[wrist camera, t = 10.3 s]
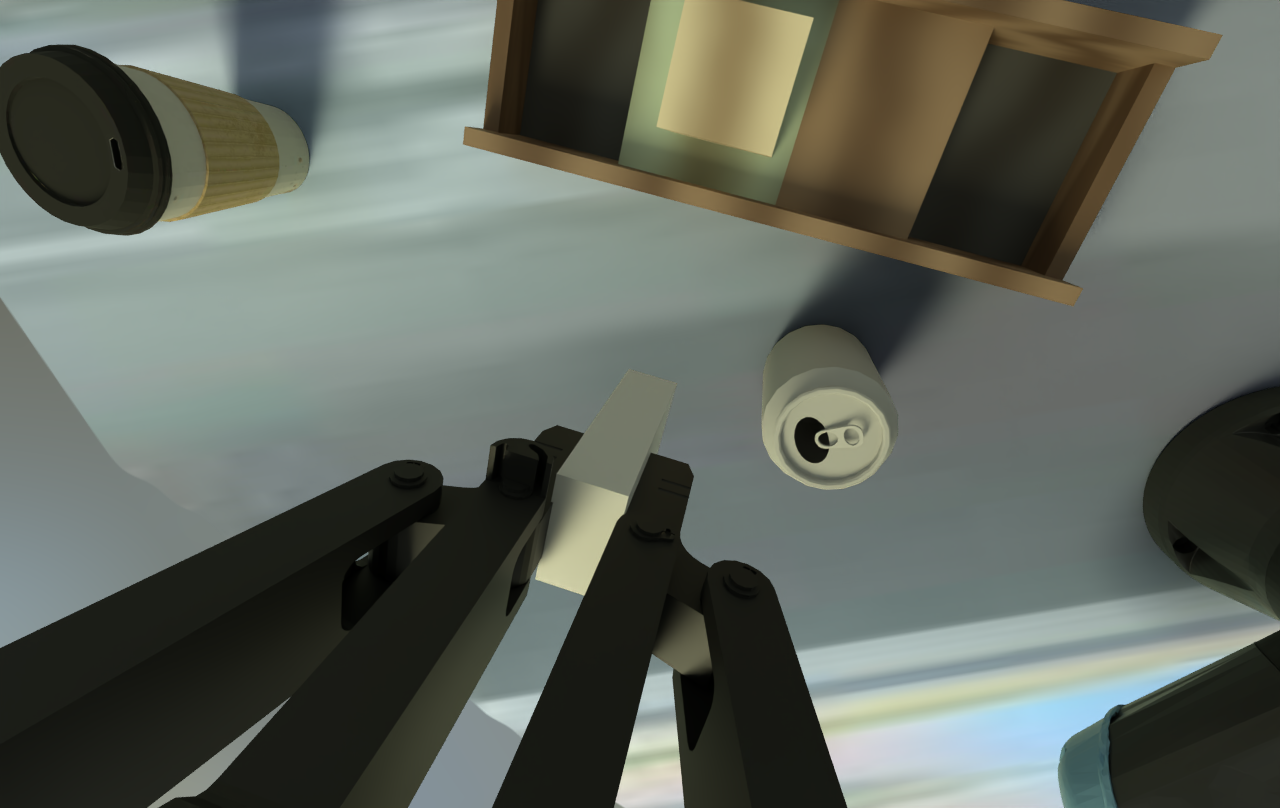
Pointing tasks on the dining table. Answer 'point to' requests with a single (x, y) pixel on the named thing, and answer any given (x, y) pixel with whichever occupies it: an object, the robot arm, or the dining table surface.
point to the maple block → (733, 73)
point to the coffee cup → (137, 142)
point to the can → (826, 409)
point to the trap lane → (862, 122)
